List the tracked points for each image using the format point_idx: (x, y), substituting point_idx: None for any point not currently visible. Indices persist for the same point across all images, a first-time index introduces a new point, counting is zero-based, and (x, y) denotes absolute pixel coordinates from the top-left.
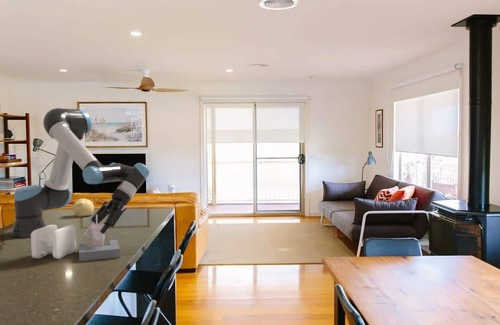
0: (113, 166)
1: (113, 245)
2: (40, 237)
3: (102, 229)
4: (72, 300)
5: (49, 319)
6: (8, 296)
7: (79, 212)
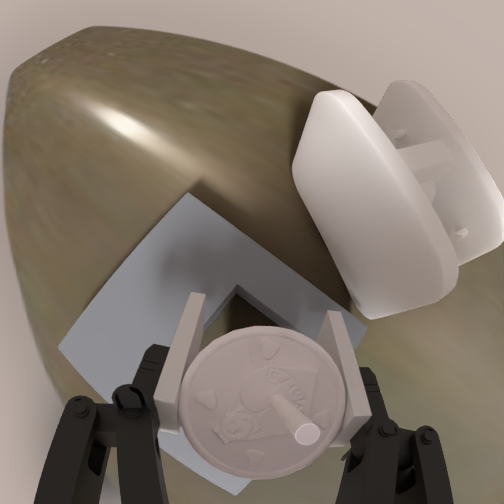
0: None
1: None
2: (402, 120)
3: (156, 364)
4: (35, 79)
5: (40, 52)
6: (148, 32)
7: None
